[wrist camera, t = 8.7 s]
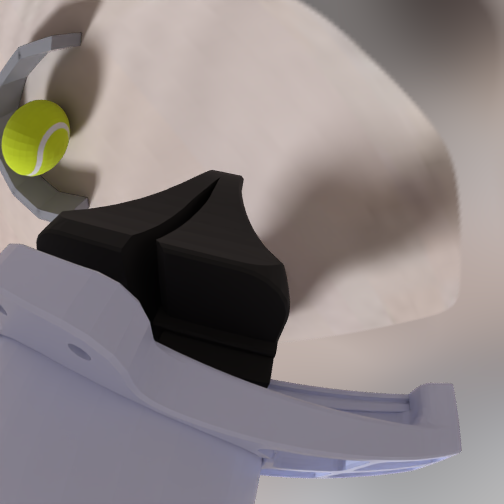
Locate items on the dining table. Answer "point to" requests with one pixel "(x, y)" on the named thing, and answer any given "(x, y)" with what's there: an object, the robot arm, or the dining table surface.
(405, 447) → the robot arm
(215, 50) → the dining table surface
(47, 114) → the tennis ball
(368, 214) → the dining table surface
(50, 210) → the catch ring
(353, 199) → the dining table surface
